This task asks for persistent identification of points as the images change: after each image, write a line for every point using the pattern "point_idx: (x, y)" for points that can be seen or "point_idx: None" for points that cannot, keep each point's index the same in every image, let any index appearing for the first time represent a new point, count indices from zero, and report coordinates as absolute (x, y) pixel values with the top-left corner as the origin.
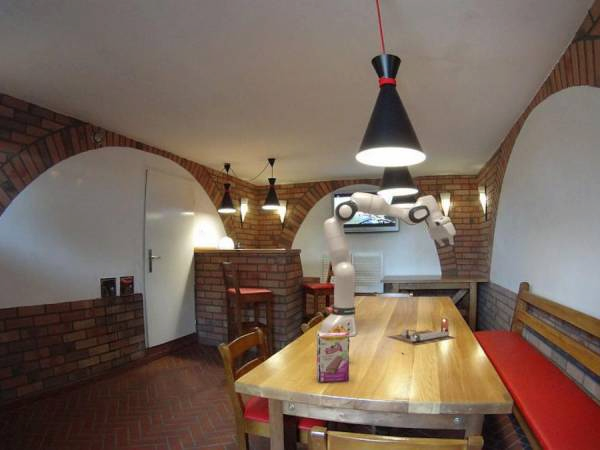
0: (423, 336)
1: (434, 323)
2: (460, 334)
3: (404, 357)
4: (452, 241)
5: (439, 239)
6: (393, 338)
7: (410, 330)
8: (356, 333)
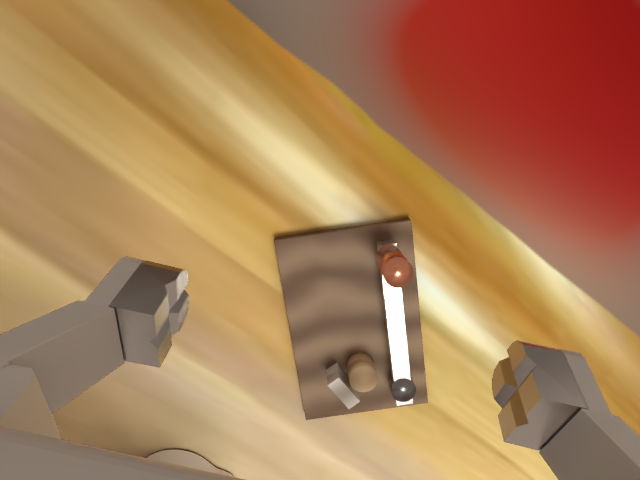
0: (408, 364)
1: (131, 88)
2: (341, 134)
3: (473, 460)
4: (594, 414)
5: (37, 430)
6: (333, 413)
7: (358, 383)
8: (210, 464)
